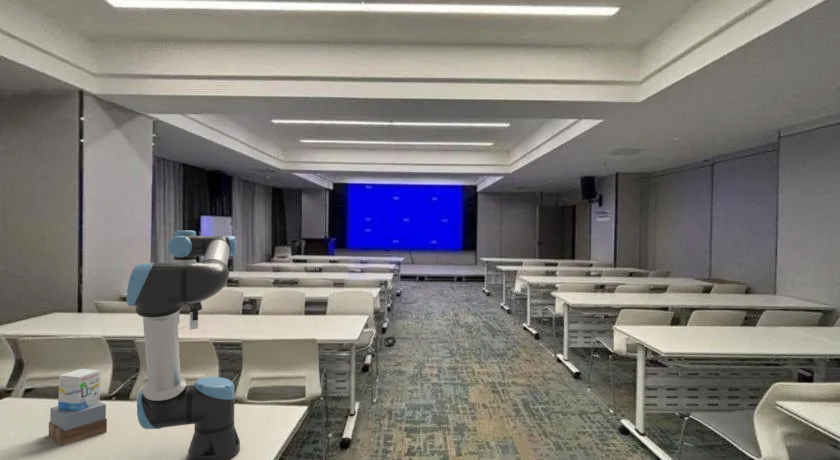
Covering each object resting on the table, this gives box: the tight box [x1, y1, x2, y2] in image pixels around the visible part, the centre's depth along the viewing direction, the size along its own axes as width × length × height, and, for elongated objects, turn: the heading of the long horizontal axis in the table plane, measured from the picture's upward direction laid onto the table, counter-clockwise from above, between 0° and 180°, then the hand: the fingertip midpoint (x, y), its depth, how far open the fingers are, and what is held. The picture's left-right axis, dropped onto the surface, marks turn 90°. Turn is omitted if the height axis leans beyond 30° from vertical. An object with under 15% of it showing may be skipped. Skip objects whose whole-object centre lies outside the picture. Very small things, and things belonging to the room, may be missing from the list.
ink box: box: [57, 368, 101, 411], centre depth 158 cm, size 8×8×12 cm
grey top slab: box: [49, 400, 107, 431], centre depth 157 cm, size 12×12×5 cm
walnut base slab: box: [48, 418, 108, 447], centre depth 157 cm, size 13×13×5 cm
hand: (184, 326), depth 171 cm, fingers open, 13 cm apart
